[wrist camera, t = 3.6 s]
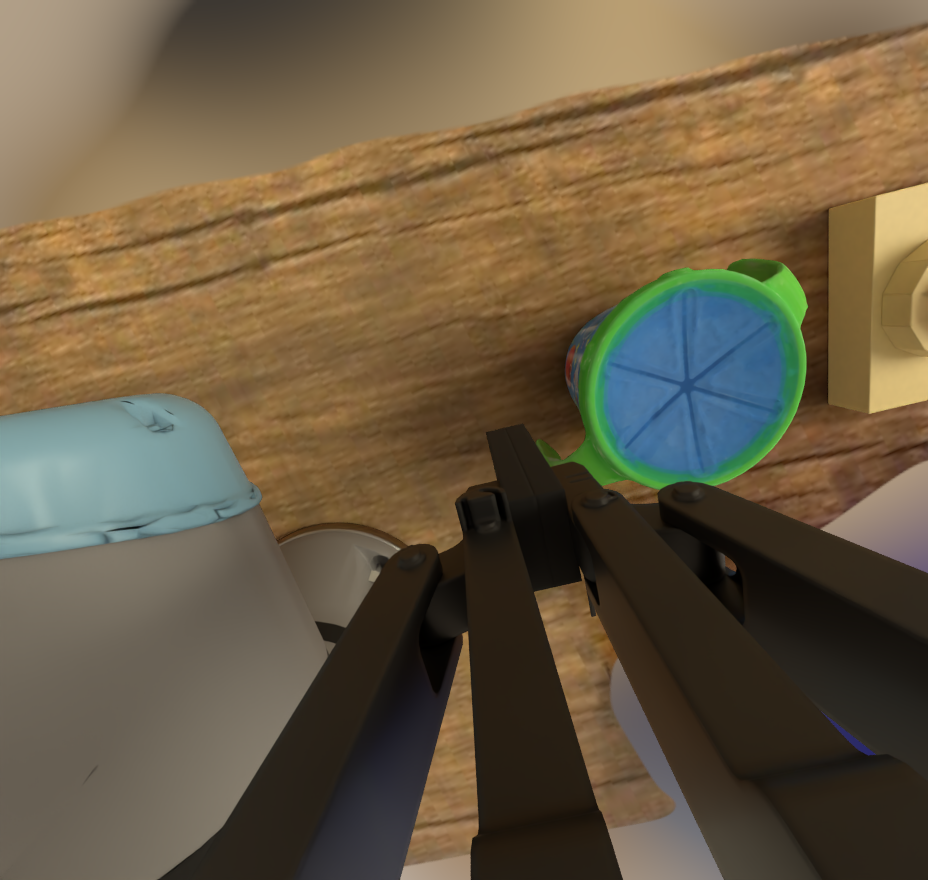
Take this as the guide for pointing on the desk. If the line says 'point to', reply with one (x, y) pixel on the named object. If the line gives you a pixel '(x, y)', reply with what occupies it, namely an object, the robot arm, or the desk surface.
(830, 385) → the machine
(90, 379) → the desk surface
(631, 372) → the snack cup
